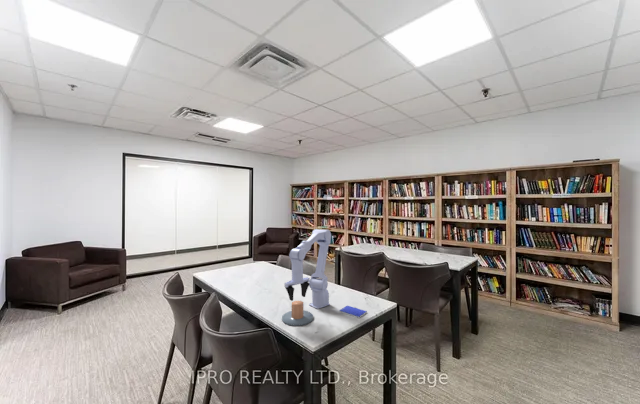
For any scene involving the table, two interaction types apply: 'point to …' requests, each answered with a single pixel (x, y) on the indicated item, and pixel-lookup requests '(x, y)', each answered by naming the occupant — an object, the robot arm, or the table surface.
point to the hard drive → (353, 311)
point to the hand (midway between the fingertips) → (297, 298)
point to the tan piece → (297, 310)
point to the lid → (297, 322)
